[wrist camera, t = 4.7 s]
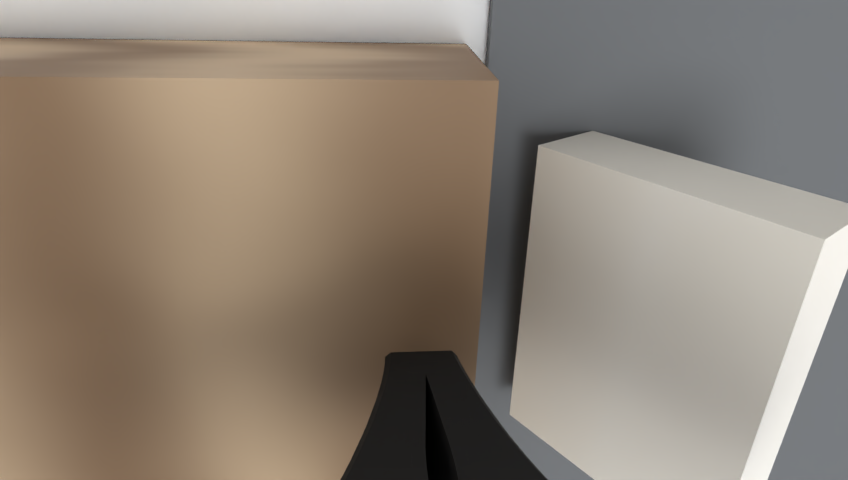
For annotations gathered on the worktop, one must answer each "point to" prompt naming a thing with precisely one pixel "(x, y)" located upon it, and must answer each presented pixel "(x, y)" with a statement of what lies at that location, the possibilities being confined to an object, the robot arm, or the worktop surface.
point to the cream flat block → (669, 310)
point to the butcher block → (229, 247)
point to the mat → (675, 133)
